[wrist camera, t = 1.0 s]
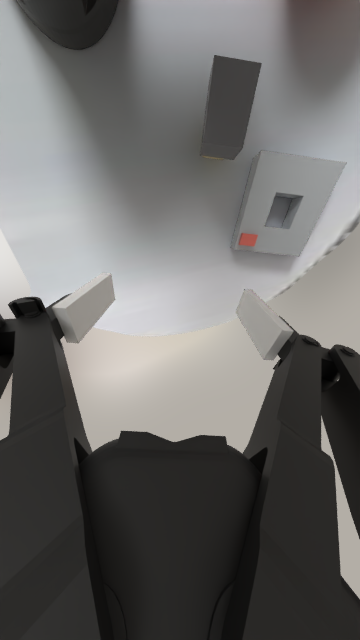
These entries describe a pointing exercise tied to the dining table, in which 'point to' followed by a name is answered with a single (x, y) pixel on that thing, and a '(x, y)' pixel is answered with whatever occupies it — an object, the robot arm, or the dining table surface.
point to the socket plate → (291, 182)
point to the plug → (228, 106)
